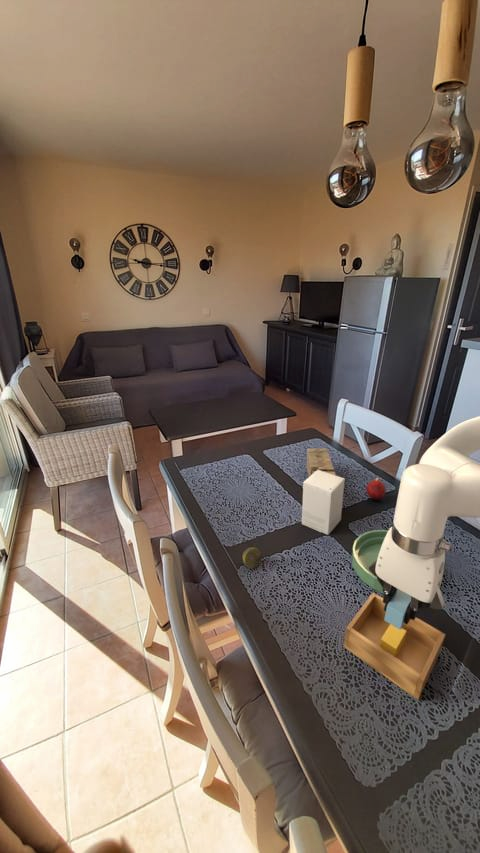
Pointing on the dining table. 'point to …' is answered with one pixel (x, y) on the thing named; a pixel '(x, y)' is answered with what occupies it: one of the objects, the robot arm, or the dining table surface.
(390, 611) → the light blue block
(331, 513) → the white product box
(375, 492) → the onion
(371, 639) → the holder
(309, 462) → the block tower
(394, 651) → the yellow small block
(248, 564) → the lime
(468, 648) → the dining table surface
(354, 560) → the bowl
